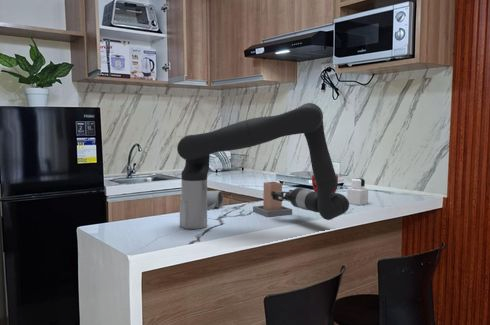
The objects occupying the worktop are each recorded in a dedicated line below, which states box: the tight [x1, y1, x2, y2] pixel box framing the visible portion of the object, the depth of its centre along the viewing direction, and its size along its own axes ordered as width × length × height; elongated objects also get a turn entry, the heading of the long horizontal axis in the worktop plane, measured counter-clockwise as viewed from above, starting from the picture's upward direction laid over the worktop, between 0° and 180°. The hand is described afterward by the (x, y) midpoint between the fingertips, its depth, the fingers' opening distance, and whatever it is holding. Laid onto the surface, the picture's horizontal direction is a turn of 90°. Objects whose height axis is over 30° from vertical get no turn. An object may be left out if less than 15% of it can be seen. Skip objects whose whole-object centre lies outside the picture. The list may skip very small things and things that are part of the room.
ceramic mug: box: [207, 190, 224, 211], centre depth 190 cm, size 11×8×8 cm
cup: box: [262, 181, 283, 211], centre depth 179 cm, size 6×6×12 cm
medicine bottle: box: [346, 178, 369, 206], centre depth 203 cm, size 7×7×12 cm
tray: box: [252, 205, 293, 218], centre depth 180 cm, size 12×12×2 cm
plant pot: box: [311, 174, 339, 193], centre depth 219 cm, size 13×13×12 cm
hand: (281, 193), depth 174 cm, fingers open, 8 cm apart
